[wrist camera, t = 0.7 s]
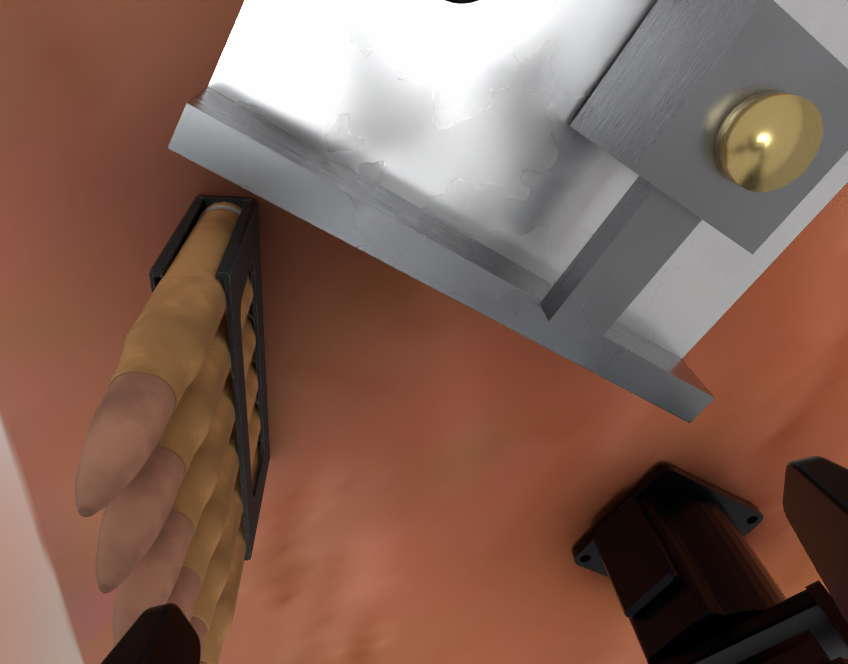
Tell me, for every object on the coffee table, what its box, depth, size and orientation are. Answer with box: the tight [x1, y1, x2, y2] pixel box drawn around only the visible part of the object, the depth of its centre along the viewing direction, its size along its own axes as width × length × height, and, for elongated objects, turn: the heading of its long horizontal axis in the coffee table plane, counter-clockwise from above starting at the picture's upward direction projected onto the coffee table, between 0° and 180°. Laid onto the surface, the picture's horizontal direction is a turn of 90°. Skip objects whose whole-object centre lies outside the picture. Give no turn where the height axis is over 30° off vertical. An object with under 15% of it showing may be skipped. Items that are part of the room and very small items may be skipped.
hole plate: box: [168, 0, 848, 423], centre depth 17 cm, size 18×13×3 cm
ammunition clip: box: [75, 196, 270, 664], centre depth 16 cm, size 11×2×12 cm, turn 175°
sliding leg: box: [539, 0, 848, 346], centre depth 16 cm, size 4×8×5 cm, turn 148°
